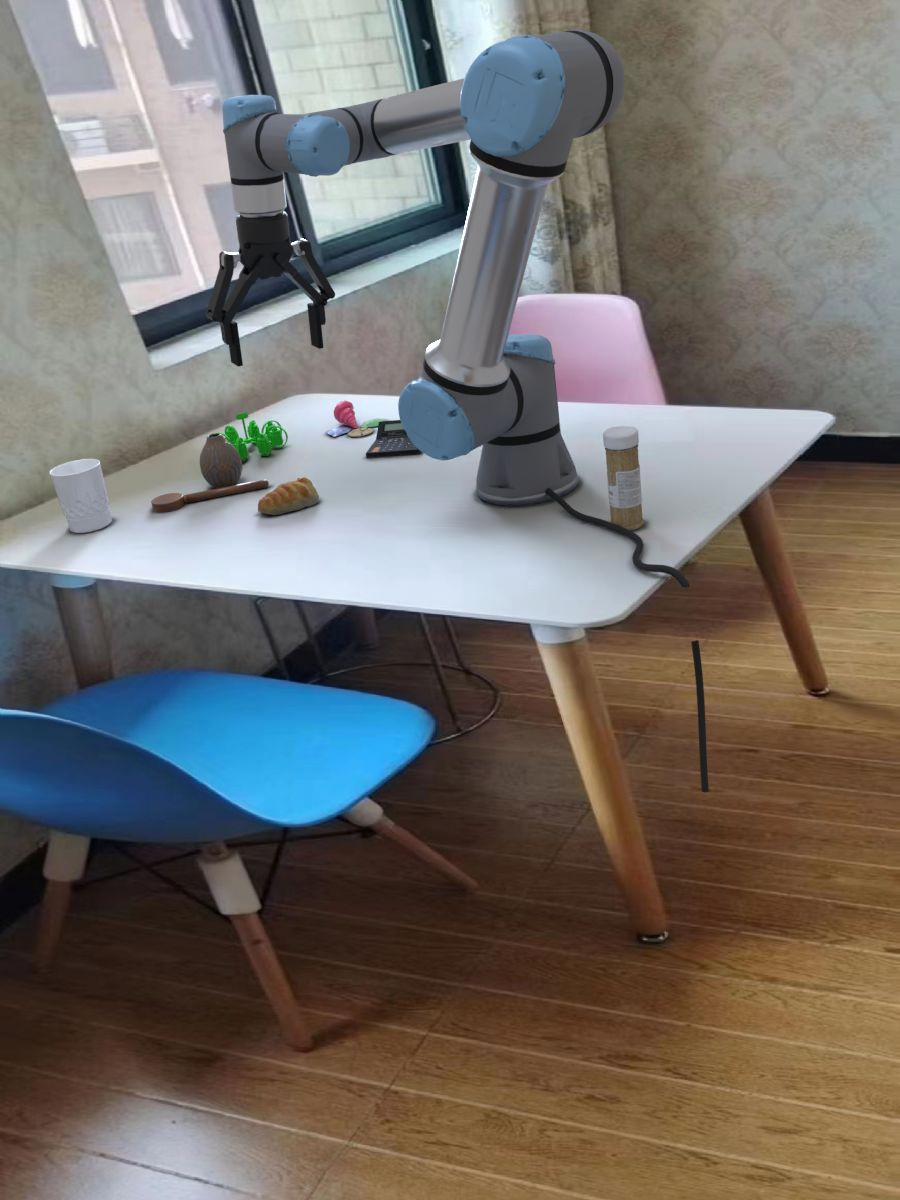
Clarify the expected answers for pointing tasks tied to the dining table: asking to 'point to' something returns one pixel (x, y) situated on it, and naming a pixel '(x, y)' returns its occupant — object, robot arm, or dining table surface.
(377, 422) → the toy pieces
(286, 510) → the pastry
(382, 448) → the calculator
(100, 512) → the white cup
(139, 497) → the dining table surface
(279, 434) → the chandelier
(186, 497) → the wooden spoon
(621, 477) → the sprinkles bottle
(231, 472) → the vase
